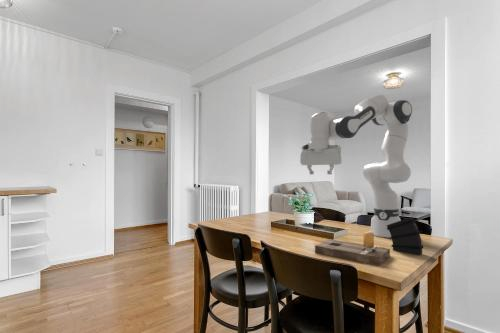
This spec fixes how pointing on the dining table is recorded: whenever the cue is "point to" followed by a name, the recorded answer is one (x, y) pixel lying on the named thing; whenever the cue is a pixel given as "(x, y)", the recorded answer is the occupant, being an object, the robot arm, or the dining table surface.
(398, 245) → the magazine
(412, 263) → the dining table surface
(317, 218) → the pine cone
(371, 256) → the board
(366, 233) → the wooden block
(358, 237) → the dining table surface
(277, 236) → the dining table surface
